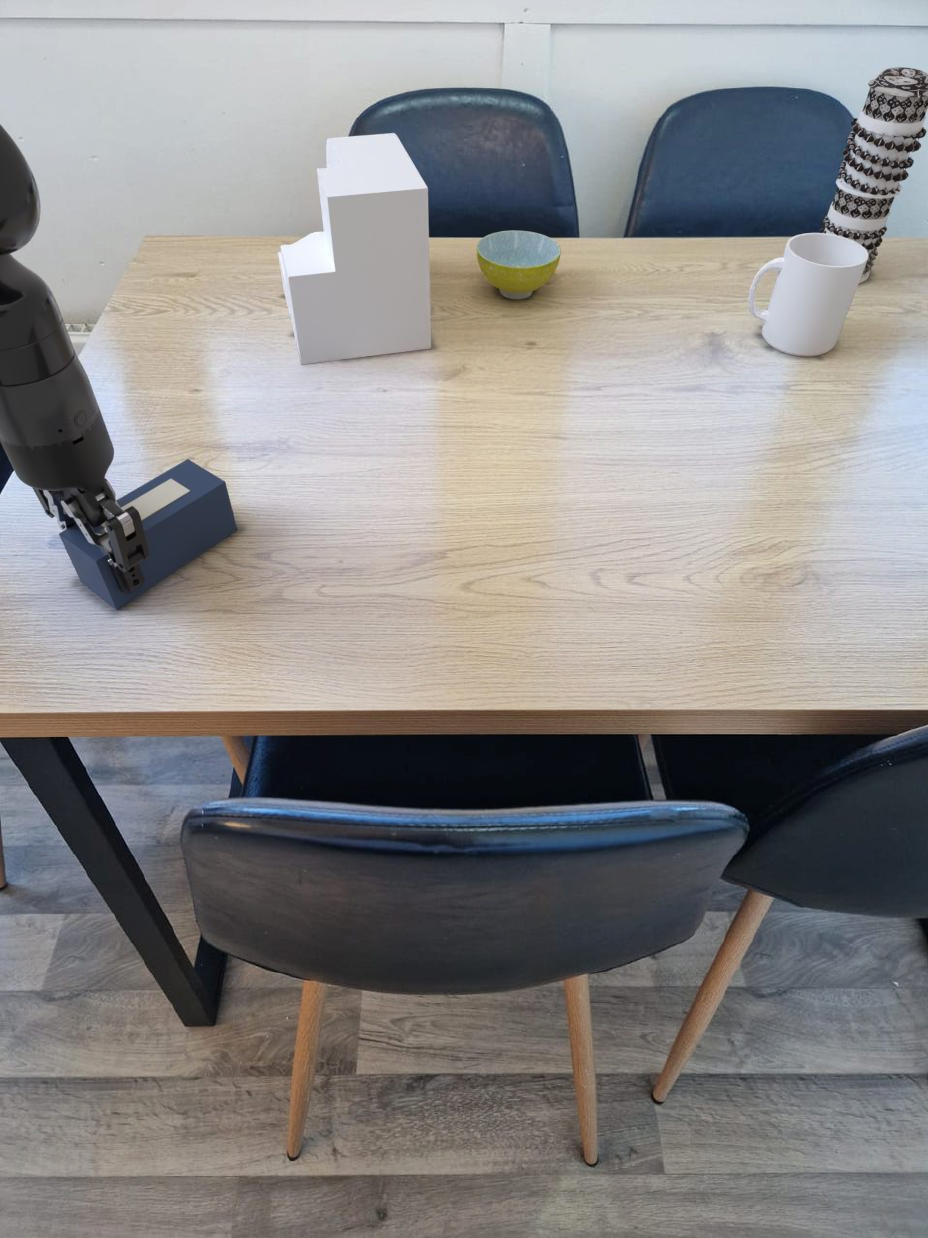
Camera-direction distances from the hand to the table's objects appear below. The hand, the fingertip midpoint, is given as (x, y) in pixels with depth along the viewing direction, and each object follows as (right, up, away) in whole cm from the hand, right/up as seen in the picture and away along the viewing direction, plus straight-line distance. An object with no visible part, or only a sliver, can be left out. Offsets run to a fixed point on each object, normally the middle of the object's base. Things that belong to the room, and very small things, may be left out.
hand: (112, 572), depth 76 cm
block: (+17, +37, +37) cm, 55 cm away
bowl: (+39, +41, +41) cm, 70 cm away
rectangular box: (+3, +2, +4) cm, 5 cm away
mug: (+74, +32, +33) cm, 87 cm away
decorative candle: (+87, +46, +46) cm, 109 cm away
